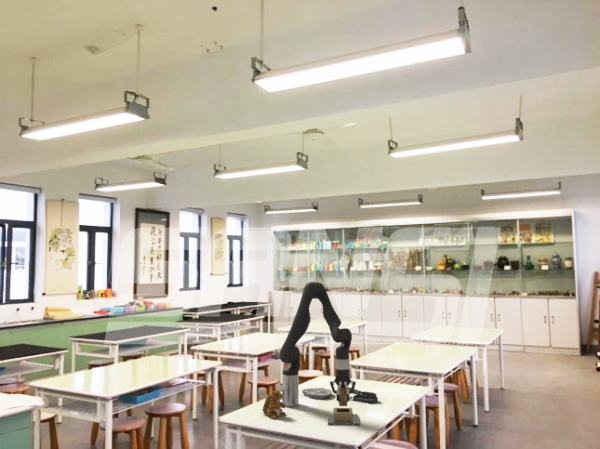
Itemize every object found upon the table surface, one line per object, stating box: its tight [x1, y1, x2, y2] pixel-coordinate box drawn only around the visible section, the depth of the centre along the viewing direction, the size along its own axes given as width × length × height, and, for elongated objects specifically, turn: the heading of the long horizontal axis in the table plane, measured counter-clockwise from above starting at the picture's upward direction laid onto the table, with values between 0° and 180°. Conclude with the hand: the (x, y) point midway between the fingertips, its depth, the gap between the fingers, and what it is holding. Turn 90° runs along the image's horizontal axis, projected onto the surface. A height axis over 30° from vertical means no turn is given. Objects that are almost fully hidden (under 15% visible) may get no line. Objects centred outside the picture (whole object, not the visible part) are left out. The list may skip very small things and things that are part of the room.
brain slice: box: [301, 387, 333, 400], centre depth 296 cm, size 20×17×3 cm
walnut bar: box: [338, 388, 348, 407], centre depth 246 cm, size 4×4×9 cm
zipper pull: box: [348, 386, 379, 405], centre depth 286 cm, size 9×7×25 cm
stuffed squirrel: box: [262, 389, 287, 420], centre depth 255 cm, size 10×14×13 cm
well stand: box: [326, 407, 361, 426], centre depth 245 cm, size 16×16×5 cm
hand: (343, 401), depth 246 cm, fingers closed on walnut bar, 4 cm apart
